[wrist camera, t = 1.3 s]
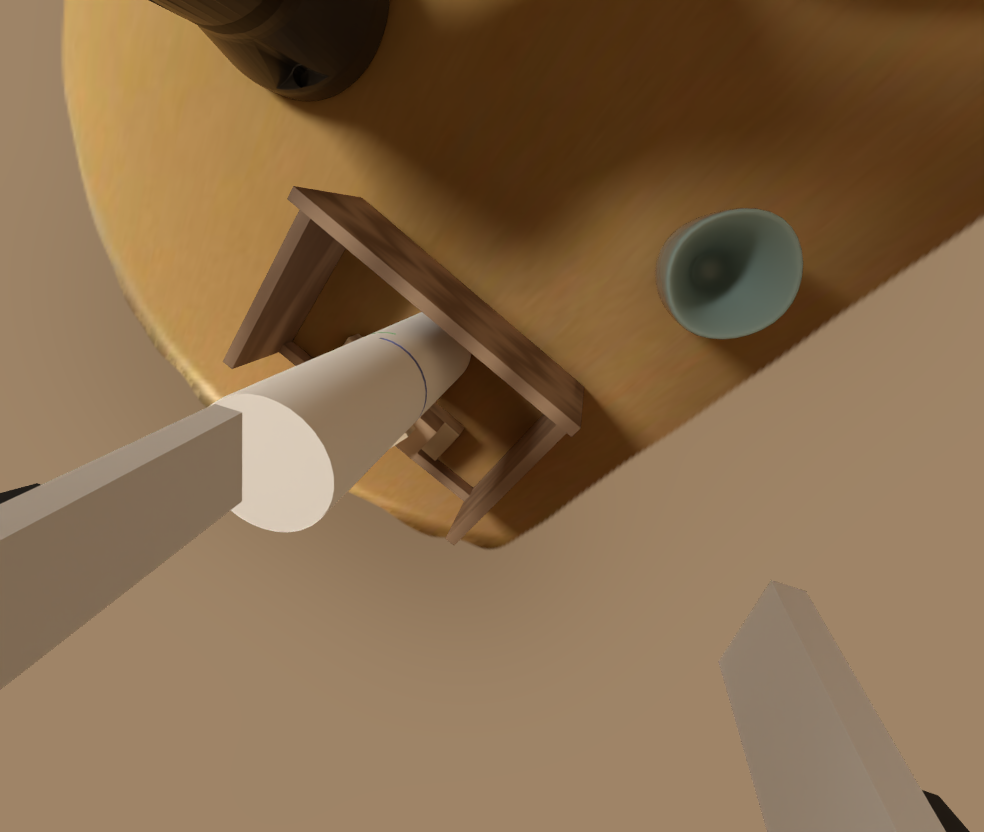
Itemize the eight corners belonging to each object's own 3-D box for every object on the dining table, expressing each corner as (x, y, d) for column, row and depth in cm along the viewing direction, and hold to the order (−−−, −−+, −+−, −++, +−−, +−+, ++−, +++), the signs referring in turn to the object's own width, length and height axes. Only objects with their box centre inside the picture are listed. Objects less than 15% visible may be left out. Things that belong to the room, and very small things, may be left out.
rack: (280, 342, 47) (204, 367, 38) (361, 197, 41) (293, 186, 31) (475, 499, 49) (447, 559, 40) (584, 387, 42) (580, 427, 33)
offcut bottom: (340, 360, 47) (327, 367, 45) (360, 332, 46) (348, 337, 44) (442, 450, 49) (435, 460, 46) (466, 426, 47) (459, 435, 45)
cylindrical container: (456, 395, 45) (315, 555, 23) (391, 365, 46) (187, 493, 23) (482, 329, 43) (350, 436, 20) (412, 297, 43) (204, 367, 20)
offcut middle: (336, 373, 45) (322, 380, 43) (357, 344, 44) (344, 350, 41) (420, 448, 46) (411, 459, 44) (444, 422, 45) (436, 432, 42)
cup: (643, 228, 37) (658, 225, 28) (750, 203, 35) (805, 191, 26) (653, 324, 39) (671, 350, 30) (755, 306, 37) (806, 328, 28)
